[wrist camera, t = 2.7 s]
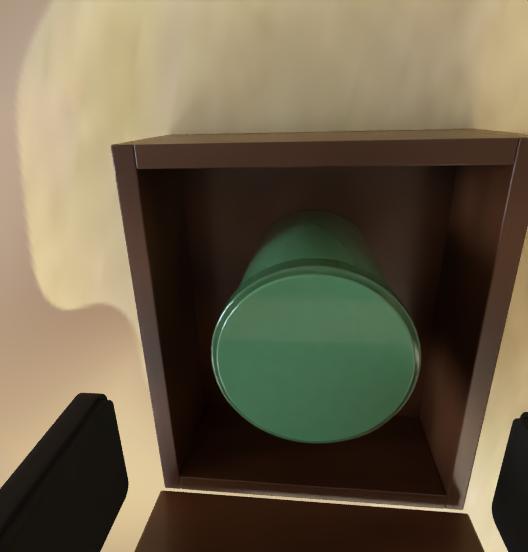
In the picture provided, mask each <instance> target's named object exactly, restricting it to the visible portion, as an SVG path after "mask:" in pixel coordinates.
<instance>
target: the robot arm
mask: <svg viewBox="0 0 528 552" xmlns="http://www.w3.org/2000/svg"><path fill="white" fill-rule="evenodd" d="M127 491H128V477H127V472H126V467H125V461H124V456H123V451H122V446H121V441H120V436H119V431H118V426H117V420H116V415H115V410H114V405H113V402H112V401H111V400H107V397H106V396H105V395H104V394H96V393H80V394H78V395H77V396H76V397H75V398H74V399H73V401H72V402H71V403H70V404H69V405H68V407H67V408H66V409H65V410H64V412H63V413H62V414H61V415H60V416H59V418H58V419H57V420H56V422H55V423H54V424H53V425H52V426H51V427H50V429H49V430H48V431H47V432H46V434H45V435H44V436H43V437H42V439H41V440H40V441H39V442H38V443H37V445H36V446H35V447H34V448H33V450H32V451H31V452H30V453H29V454H28V456H27V457H26V458H25V459H24V461H23V462H22V463H21V464H20V465H19V467H18V468H17V469H16V470H15V471H14V473H13V474H12V475H11V476H10V478H9V479H8V480H7V481H6V482H5V484H4V485H3V486H2V487H1V489H0V552H100V551H101V549H102V547H103V544H104V542H105V540H106V538H107V536H108V534H109V532H110V529H111V527H112V525H113V523H114V521H115V519H116V517H117V515H118V512H119V510H120V508H121V506H122V504H123V502H124V500H125V498H126V495H127ZM492 514H493V519H494V522H495V524H496V526H497V528H498V531H499V533H500V535H501V537H502V539H503V541H504V543H505V546H506V548H507V550H508V552H528V412H524V413H523V414H522V415H521V417H520V418H517V419H515V420H514V421H513V423H512V427H511V431H510V435H509V439H508V443H507V447H506V451H505V455H504V459H503V463H502V467H501V471H500V475H499V479H498V483H497V486H496V490H495V494H494V498H493V502H492Z"/></svg>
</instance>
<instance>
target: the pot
mask: <svg viewBox="0 0 528 552" xmlns="http://www.w3.org/2000/svg"><path fill="white" fill-rule="evenodd" d="M211 360H212V366H213V371H214V374H215V378H216V381H217V383H218V385H219V387H220V389H221V391H222V393H223V395H224V396H225V398H226V399H227V401H228V402H229V403H230V404H231V406H232V407H233V408H234V409H235V410H236V411H237V412H238V413H239V414H240V415H241V416H242V417H243V418H245V419H246V420H247V421H249V422H250V423H251V424H253V425H254V426H256V427H258V428H260V429H261V430H263V431H265V432H267V433H270V434H272V435H274V436H277V437H280V438H283V439H286V440H291V441H296V442H302V443H311V444H325V443H336V442H341V441H346V440H350V439H353V438H357V437H360V436H362V435H365V434H367V433H369V432H371V431H373V430H375V429H377V428H378V427H380V426H382V425H383V424H384V423H386V422H387V421H388V420H390V419H391V418H392V417H393V416H394V415H395V414H396V413H397V412H398V411H399V410H400V409H401V408H402V407H403V406H404V404H405V403H406V402H407V400H408V399H409V397H410V395H411V394H412V392H413V390H414V387H415V385H416V382H417V380H418V376H419V372H420V367H421V347H420V340H419V337H418V333H417V330H416V328H415V325H414V323H413V321H412V319H411V316H410V314H409V312H408V310H407V308H406V307H405V305H404V304H403V302H402V301H401V299H400V298H399V297H398V295H397V294H396V293H395V292H394V291H393V290H392V289H391V288H390V287H389V285H388V283H387V280H386V278H385V276H384V274H383V271H382V269H381V267H380V265H379V262H378V260H377V258H376V256H375V254H374V251H373V249H372V247H371V245H370V242H369V241H368V239H367V237H366V236H365V234H364V233H363V232H362V231H361V230H360V228H358V227H357V226H356V225H355V224H354V223H353V222H351V221H350V220H348V219H347V218H345V217H343V216H341V215H339V214H336V213H333V212H329V211H324V210H303V211H298V212H294V213H291V214H288V215H286V216H284V217H282V218H280V219H279V220H277V221H275V222H274V223H273V224H272V225H270V226H269V227H268V228H267V229H266V230H265V231H264V233H263V234H262V235H261V237H260V238H259V240H258V241H257V243H256V245H255V248H254V250H253V252H252V255H251V257H250V260H249V262H248V265H247V267H246V270H245V272H244V275H243V277H242V280H241V282H240V285H239V287H238V289H237V290H236V291H235V292H234V293H233V294H232V296H231V297H230V299H229V300H228V302H227V303H226V304H225V306H224V309H223V311H222V313H221V315H220V317H219V319H218V322H217V324H216V327H215V330H214V333H213V338H212V345H211Z"/></svg>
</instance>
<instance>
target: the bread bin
mask: <svg viewBox="0 0 528 552" xmlns="http://www.w3.org/2000/svg"><path fill="white" fill-rule="evenodd" d="M111 151H112V157H113V164H114V170H115V176H116V182H117V189H118V195H119V201H120V207H121V214H122V220H123V226H124V233H125V239H126V245H127V251H128V258H129V264H130V270H131V276H132V283H133V289H134V295H135V302H136V308H137V314H138V320H139V327H140V333H141V339H142V346H143V352H144V358H145V364H146V371H147V377H148V383H149V389H150V395H151V402H152V408H153V414H154V421H155V427H156V433H157V440H158V446H159V452H160V457H161V465H162V470H163V477H164V484H165V487H166V488H177V489H180V488H182V489H190V490H203V491H217V492H231V493H243V494H256V495H270V496H283V497H296V498H310V499H323V500H336V501H350V502H363V503H376V504H389V505H403V506H416V507H429V508H443V509H444V507H445V508H446V509H458V510H463V508H464V503H465V499H466V494H467V490H468V486H469V481H470V477H471V472H472V468H473V464H474V459H475V455H476V450H477V446H478V442H479V437H480V433H481V428H482V424H483V420H484V415H485V411H486V406H487V402H488V398H489V393H490V389H491V384H492V380H493V375H494V371H495V367H496V362H497V358H498V353H499V349H500V345H501V340H502V336H503V331H504V327H505V323H506V318H507V314H508V309H509V305H510V301H511V296H512V292H513V287H514V283H515V279H516V274H517V270H518V265H519V261H520V257H521V252H522V248H523V243H524V239H525V235H526V230H527V226H528V135H524V134H515V133H506V132H498V131H489V130H479V129H441V130H392V131H343V132H294V133H245V134H196V135H166V136H159V137H154V138H148V139H142V140H137V141H131V142H125V143H119V144H114V145H111ZM303 210H324V211H329V212H333V213H336V214H339V215H341V216H343V217H345V218H347V219H348V220H350V221H351V222H353V223H354V224H355V225H356V226H357V227H358V228H360V230H361V231H362V232H363V233H364V234H365V236H366V237H367V239H368V241H369V242H370V245H371V247H372V249H373V251H374V254H375V256H376V258H377V260H378V262H379V265H380V267H381V269H382V271H383V274H384V276H385V278H386V280H387V283H388V285H389V287H390V288H391V289H392V290H393V291H394V292H395V293H396V294H397V295H398V297H399V298H400V299H401V301H402V302H403V304H404V305H405V307H406V308H407V310H408V312H409V314H410V316H411V319H412V321H413V323H414V325H415V328H416V330H417V333H418V337H419V340H420V347H421V367H420V372H419V376H418V380H417V382H416V385H415V387H414V390H413V392H412V394H411V395H410V397H409V399H408V400H407V402H406V403H405V404H404V406H403V407H402V408H401V409H400V410H399V411H398V412H397V413H396V414H395V415H394V416H393V417H392V418H391V419H390V420H388V421H387V422H386V423H384V424H383V425H382V426H380V427H378V428H377V429H375V430H373V431H371V432H369V433H367V434H365V435H362V436H360V437H357V438H353V439H350V440H346V441H341V442H336V443H325V444H311V443H302V442H296V441H291V440H286V439H283V438H280V437H277V436H274V435H272V434H270V433H267V432H265V431H263V430H261V429H260V428H258V427H256V426H254V425H253V424H251V423H250V422H249V421H247V420H246V419H245V418H243V417H242V416H241V415H240V414H239V413H238V412H237V411H236V410H235V409H234V408H233V407H232V406H231V404H230V403H229V402H228V401H227V399H226V398H225V396H224V395H223V393H222V391H221V389H220V387H219V385H218V383H217V381H216V378H215V374H214V371H213V366H212V360H211V345H212V338H213V333H214V330H215V327H216V324H217V322H218V319H219V317H220V315H221V313H222V311H223V309H224V306H225V304H226V303H227V302H228V300H229V299H230V297H231V296H232V294H233V293H234V292H235V291H236V290H237V289H238V287H239V285H240V282H241V280H242V277H243V275H244V272H245V270H246V267H247V265H248V262H249V260H250V257H251V255H252V252H253V250H254V248H255V245H256V243H257V241H258V240H259V238H260V237H261V235H262V234H263V233H264V231H265V230H266V229H267V228H268V227H269V226H270V225H272V224H273V223H274V222H275V221H277V220H279V219H280V218H282V217H284V216H286V215H288V214H291V213H294V212H298V211H303Z"/></svg>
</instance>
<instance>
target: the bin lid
mask: <svg viewBox="0 0 528 552" xmlns="http://www.w3.org/2000/svg"><path fill="white" fill-rule="evenodd" d="M135 552H484V550H483V547H482V545H481V543H480V540H479V538H478V536H477V533H476V531H475V529H474V527H473V524H472V522H471V520H470V517H469V515H468V514H464V513H451V512H437V511H424V510H411V509H398V508H385V507H372V506H358V505H345V504H331V503H319V502H305V501H293V500H280V499H266V498H253V497H240V496H226V495H214V494H213V495H212V494H200V493H187V492H173V491H161V492H160V494H159V497H158V499H157V501H156V503H155V506H154V509H153V510H152V513H151V515H150V517H149V520H148V522H147V524H146V526H145V529H144V531H143V533H142V536H141V538H140V540H139V542H138V545H137V547H136V550H135Z"/></svg>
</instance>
